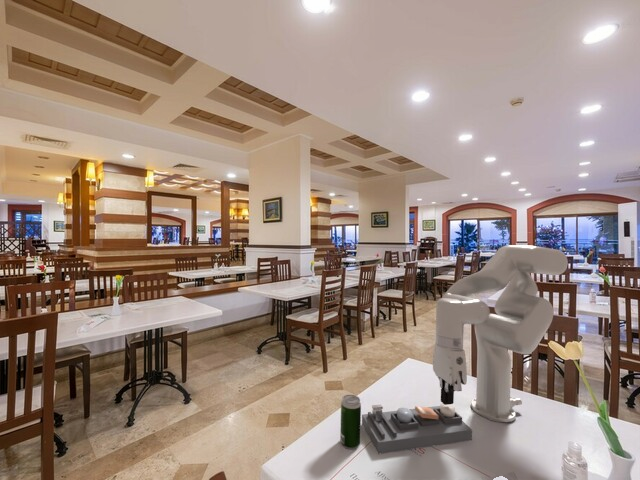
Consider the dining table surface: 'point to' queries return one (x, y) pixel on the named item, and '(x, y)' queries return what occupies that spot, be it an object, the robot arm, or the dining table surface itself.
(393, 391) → the dining table surface
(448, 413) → the white dome button
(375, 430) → the switch panel
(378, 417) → the slide paddle
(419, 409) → the rocker switch
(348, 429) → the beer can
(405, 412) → the grey dome
